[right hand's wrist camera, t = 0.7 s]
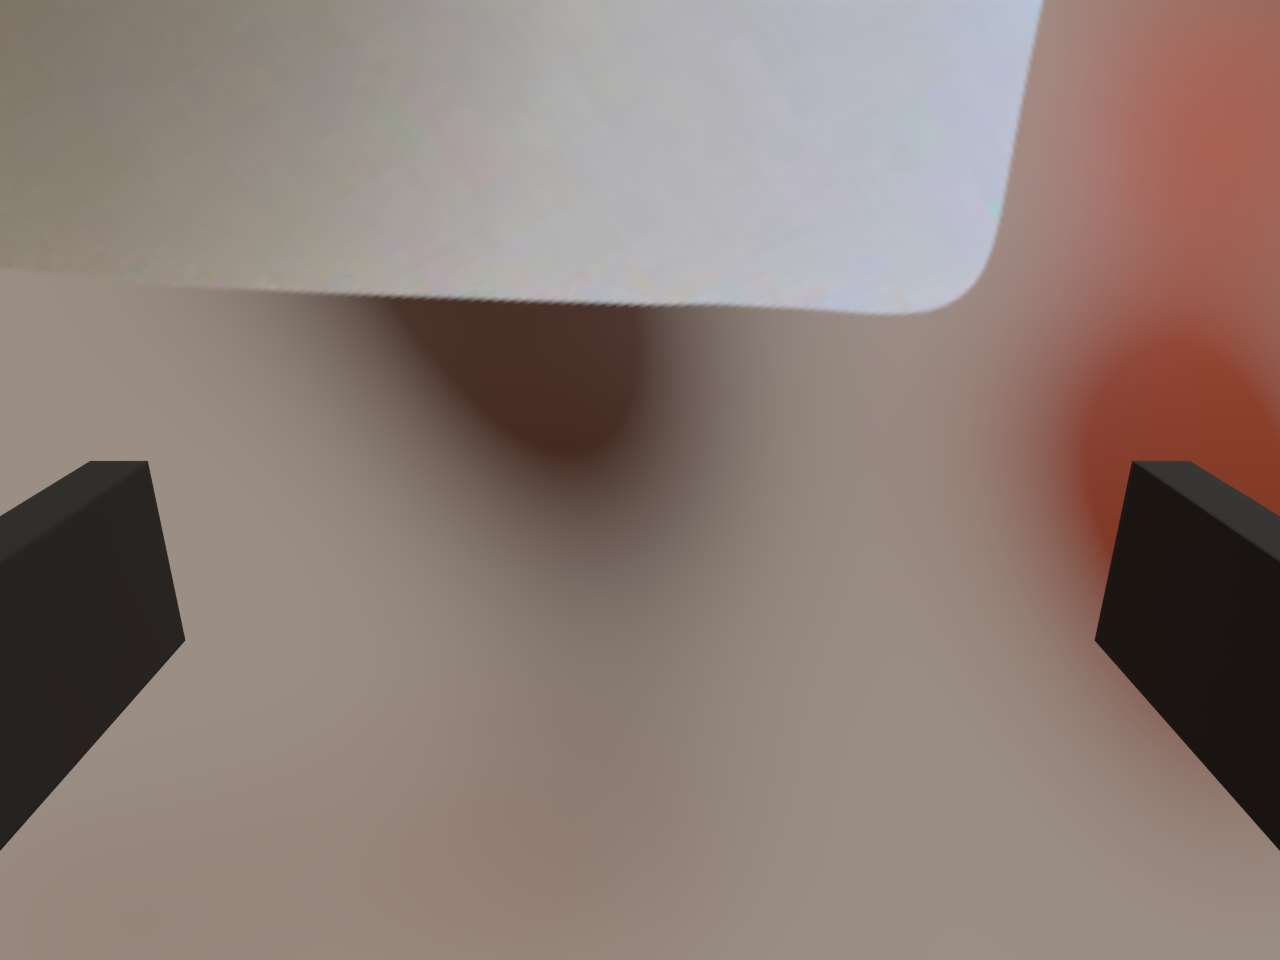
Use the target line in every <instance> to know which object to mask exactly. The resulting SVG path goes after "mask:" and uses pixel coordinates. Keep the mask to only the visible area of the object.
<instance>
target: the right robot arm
mask: <svg viewBox="0 0 1280 960" xmlns="http://www.w3.org/2000/svg"><path fill="white" fill-rule="evenodd" d="M184 641H185V637H184V632H183V627H182V622H181V617H180V613H179V608H178V603H177V598H176V594H175V589H174V584H173V579H172V575H171V570H170V565H169V560H168V556H167V551H166V546H165V541H164V536H163V532H162V527H161V522H160V517H159V512H158V508H157V503H156V498H155V493H154V489H153V484H152V479H151V474H150V470H149V465H148V461H90V462H88V463H86V464H85V465H83V466H81V467H80V468H78V469H76V470H75V471H73V472H72V473H70V474H68V475H67V476H65V477H64V478H62V479H60V480H59V481H57V482H55V483H54V484H52V485H50V486H49V487H47V488H46V489H44V490H42V491H41V492H39V493H37V494H36V495H34V496H32V497H31V498H29V499H28V500H26V501H24V502H23V503H21V504H19V505H18V506H16V507H15V508H13V509H11V510H10V511H8V512H6V513H5V514H3V515H2V516H0V850H1V849H2V848H3V847H4V846H5V845H6V844H7V842H8V841H9V840H10V839H11V838H12V837H13V836H14V834H15V833H16V832H17V831H18V830H19V829H20V828H21V827H22V825H23V824H24V823H25V822H26V821H27V820H28V819H29V817H30V816H31V815H32V814H33V813H34V812H35V811H36V809H37V808H38V807H39V806H40V805H41V804H42V803H43V801H44V800H45V799H46V798H47V797H48V796H49V795H50V793H51V792H52V791H53V790H54V789H55V788H56V787H57V786H58V784H59V783H60V782H61V781H62V780H63V779H64V778H65V777H66V775H67V774H68V773H69V772H70V771H71V770H72V769H73V767H74V766H75V765H76V764H77V763H78V762H79V761H80V759H81V758H82V757H83V756H84V755H85V754H86V753H87V752H88V750H89V749H90V748H91V747H92V746H93V745H94V744H95V742H96V741H97V740H98V739H99V738H100V737H101V736H102V734H103V733H104V732H105V731H106V730H107V729H108V728H109V727H110V725H111V724H112V723H113V722H114V721H115V720H116V719H117V717H118V716H119V715H120V714H121V713H122V712H123V711H124V709H125V708H126V707H127V706H128V705H129V704H130V703H131V702H132V700H133V699H134V698H135V697H136V696H137V695H138V694H139V692H140V691H141V690H142V689H143V688H144V687H145V686H146V684H147V683H148V682H149V681H150V680H151V679H152V678H153V677H154V675H155V674H156V673H157V672H158V671H159V670H160V669H161V667H162V666H163V665H164V664H165V663H166V662H167V661H168V660H169V658H170V657H171V656H172V655H173V654H174V653H175V652H176V650H177V649H178V648H179V647H180V646H181V645H182V644H183V642H184ZM1095 641H1096V642H1097V644H1098V645H1099V646H1100V647H1101V648H1102V649H1103V650H1104V651H1105V653H1106V654H1107V655H1108V656H1109V657H1110V658H1111V660H1112V661H1113V662H1114V663H1115V664H1116V665H1117V666H1118V667H1119V669H1120V670H1121V671H1122V672H1123V673H1124V674H1125V675H1126V677H1127V678H1128V679H1129V680H1130V681H1131V682H1132V683H1133V685H1134V686H1135V687H1136V688H1137V689H1138V690H1139V691H1140V692H1141V694H1142V695H1143V696H1144V697H1145V698H1146V699H1147V700H1148V702H1149V703H1150V704H1151V705H1152V706H1153V707H1154V708H1155V709H1156V711H1157V712H1158V713H1159V714H1160V715H1161V716H1162V717H1163V718H1164V720H1165V721H1166V722H1167V723H1168V724H1169V725H1170V727H1171V728H1172V729H1173V730H1174V731H1175V732H1176V733H1177V734H1178V736H1179V737H1180V738H1181V739H1182V740H1183V741H1184V742H1185V744H1186V745H1187V746H1188V747H1189V748H1190V749H1191V750H1192V752H1193V753H1194V754H1195V755H1196V756H1197V757H1198V758H1199V759H1200V761H1201V762H1202V763H1203V764H1204V765H1205V766H1206V767H1207V769H1208V770H1209V771H1210V772H1211V773H1212V774H1213V775H1214V776H1215V778H1216V779H1217V780H1218V781H1219V782H1220V783H1221V784H1222V786H1223V787H1224V788H1225V789H1226V790H1227V791H1228V792H1229V794H1230V795H1231V796H1232V797H1233V798H1234V799H1235V800H1236V801H1237V803H1238V804H1239V805H1240V806H1241V807H1242V808H1243V809H1244V811H1245V812H1246V813H1247V814H1248V815H1249V816H1250V817H1251V818H1252V820H1253V821H1254V822H1255V823H1256V824H1257V825H1258V827H1259V828H1260V829H1261V830H1262V831H1263V832H1264V833H1265V834H1266V836H1267V837H1268V838H1269V839H1270V840H1271V841H1272V842H1273V843H1274V845H1275V846H1276V847H1277V848H1278V849H1279V850H1280V516H1278V515H1277V514H1275V513H1274V512H1272V511H1270V510H1269V509H1267V508H1265V507H1264V506H1262V505H1261V504H1259V503H1257V502H1256V501H1254V500H1252V499H1251V498H1249V497H1247V496H1246V495H1244V494H1243V493H1241V492H1239V491H1238V490H1236V489H1234V488H1233V487H1231V486H1230V485H1228V484H1226V483H1225V482H1223V481H1221V480H1220V479H1218V478H1217V477H1215V476H1213V475H1212V474H1210V473H1208V472H1207V471H1205V470H1203V469H1202V468H1200V467H1199V466H1197V465H1195V464H1194V463H1192V462H1190V461H1132V465H1131V470H1130V474H1129V479H1128V484H1127V489H1126V493H1125V498H1124V503H1123V508H1122V512H1121V517H1120V522H1119V527H1118V532H1117V536H1116V541H1115V546H1114V551H1113V555H1112V560H1111V565H1110V570H1109V575H1108V579H1107V584H1106V589H1105V594H1104V598H1103V603H1102V608H1101V613H1100V618H1099V622H1098V627H1097V632H1096V637H1095Z"/></svg>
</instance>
